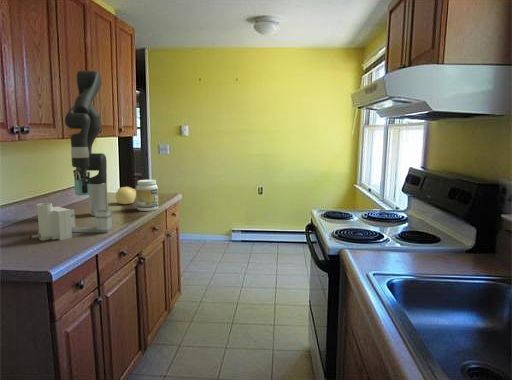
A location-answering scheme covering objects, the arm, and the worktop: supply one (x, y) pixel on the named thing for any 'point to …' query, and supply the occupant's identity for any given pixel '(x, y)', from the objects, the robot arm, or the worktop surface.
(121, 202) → the pale yellow ball
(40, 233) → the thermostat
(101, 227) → the rail
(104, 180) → the robot arm
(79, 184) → the block
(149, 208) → the supplement tub
